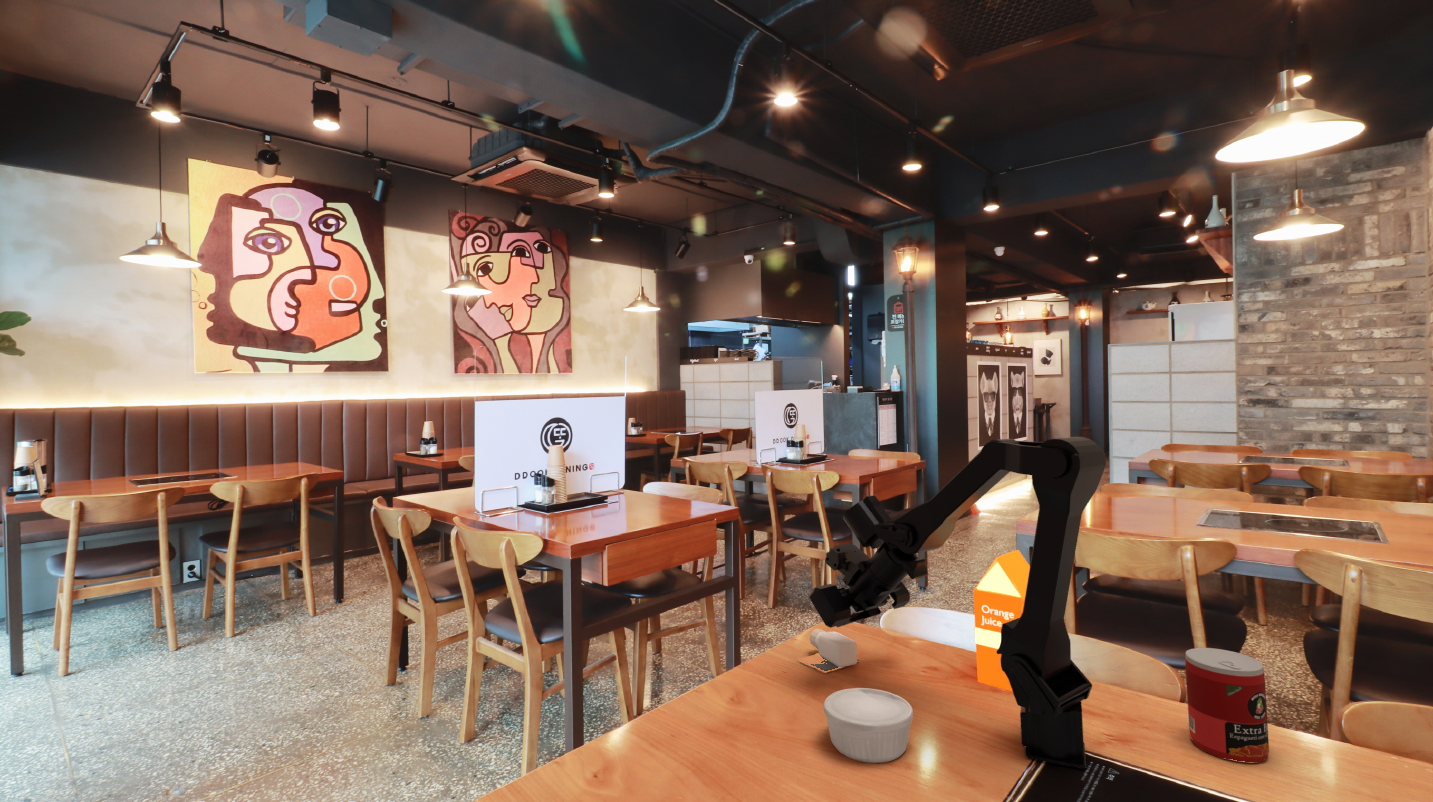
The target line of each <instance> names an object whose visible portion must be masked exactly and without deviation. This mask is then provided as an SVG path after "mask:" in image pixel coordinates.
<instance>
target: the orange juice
mask: <svg viewBox="0 0 1433 802" xmlns="http://www.w3.org/2000/svg"><path fill="white" fill-rule="evenodd" d="M1029 569H1030V564H1029V563H1028V561H1026V558H1025V557H1024V556H1023V554H1022V553H1021V551H1020V550H1019V549H1016V550H1014V551H1011V552H1008V553H1005V554H1002V555H1000V556H997V557H995V560H994V561H993V562H992V563H991V565H990V567H989V568H988V569H987V571H985V573H984V575H983V577H982V578H981V579H980V581H979V582H978V583H977V585H976V587H974V589H973V591H972V592H973V606H974V607H973V608H974V609H973V610H974V625H975V626H974V635H975V636H974V638H975V640H974V641H975V649H976V651H975V653H976V654H975V655H976V670H977V671H976V672H977V674H976V675H977V682H978V683H982V684H984V685H988V686H992V687H995V688H999V689H1001V690H1002V689H1003V690H1005V691H1006V690H1007V691H1009V692H1012V693H1013V691H1012V688H1011V685H1010V682H1009V680H1008V678H1007V676H1006V674H1005V672H1003V671H1002V669H1001V664H1000V658H1001V654H997V653H996V651H997V650H998V649H999V647H1000V643H1001V628H1002V624H1003V623H1006V622H1009V621H1011V620H1014V619H1017V618H1019V617H1020V616H1021V615H1022V612H1023V606H1024V600H1025V594H1026V588H1027V582H1028V575H1029Z"/></svg>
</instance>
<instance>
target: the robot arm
mask: <svg viewBox="0 0 1433 802" xmlns="http://www.w3.org/2000/svg"><path fill="white" fill-rule="evenodd" d="M1106 459H1107V457H1106V454H1105V452H1104V450H1102V448H1101V447H1100V446H1099V445H1098V444H1097V443H1096V442H1095V441H1093V440H1092V439H1090V438H1087V437H1085V436H1070V437H1059V438H1051V439H1048V440H1044V441H1027V440H1026V441H1025V440H1016V439H1013V438H1002V439H1000V438H999V439H994V440H993V439H992V440H989V441H987V442H986V443H985V444H984V445H983V446H982V447H981V450H980V451H979V452H978V453H977V454H976V455H975V456H974V457H973V458H971V460H970V461H969V462H968V463H967V464H966V465H964V467H962V469H961V470H960V471H959V472H958V473H956V474H955V475H954V476H953V477H952V478H951V479H950V480H949V481H948V482H947V483H946V484H944V486H943V487H942V488H941V489H940V490H939V491H938V492H937V493H935V494H934V496H932V498H930V499H928V500H926V501H925V502H923V503H921V504H919V505H917V506H915V507H912V508H911V509H909V510H908V511H906V512H904V513H903V514H901V515H900V516H898V517H896V518H895V519H892V518H891V516H890V515H889V514H888V512H887V511H886V509H885V508H884V507H883V506H882V504H881V502H880V500H879V499H878V498H877V496H876V495H873V494H872V495H865V497H864V498H863V499H861V501H858V502H856V503H855V504H854V505H851V507H850V508H847V509H846V510H845V511H844V513H843V515H842V519H843V521H844V522H845V523H846V525H847V527H848V528H849V529H850V531H851V532H852V533H853V535H854V536H855V538H856V539H857V541H858V542H859V543H860V545H861V546H862V547H863V548H868V547H870V548H871V549H872V550H876V549H877V550H876V551H875V552H874V553H873V554H872V555H871V557H869V555H867V554H866V553H865V552H864V551H862V550H861V549H860V548H859V547H857V546H856V545H855V544H853V543H843V544H838V545H834V546H833V547H830V549H829V550H828V552H826V553H825V559H824V561H825V564H826V565H827V566H828V567H829V568H830V569H832V570H833V571H839V572H840V574H842V575H843V576H844V577H843V578H842V582H843V583H844V585H845V586H846V587H847V586H848V588H845V587H840V588H838V586H837V585H835V584H832V583H828V584H824V585H819V586H815V587H814V588H813V589H812V590H811V592H810V593H809V596H808V598H809V600H810V601H811V603H812V604H813V606H814V608H815V611H816V612H817V614H818V615H819V616H820V619H821V620H822V622H823V623H824V626H826V627H827V628H830V629H831V628H834V627H837V628H840V627H843V626H846V625H849V624H853V623H856V622H859V621H862V620H866V619H869V618H871V617H875V616H879V615H880V614H881V613H882V611H881V609H880V608H881V607H884V606H885V605H887V604H888V602H889V600H890V599H892V600H893V601H894V602H892V604H891V606H892V608H893V610H896V609H899V608H904V607H905V606H906V605H907V604H908V603H909V602H910V601H911V597H910V596H911V592H910V591H909V589H908V588H907V587H906V586H905V584H904V582H903V580H904V579H905V578H906V577H907V576H908V577H909V578H910V579H911V580H916V579H918V578H923V577H926V576H928V568H927V565H926V559H925V558H921V557H919V555H918V554H920V553H925V552H928V551H933V550H938V549H940V548H942V546H943V545H944V544H945V543H946V542H947V540H949V537H951V536H952V534H953V532H954V531H955V527H956V523H957V522H958V521H959V520H960V518H961V516H962V515H963V514H965V513H967V511H968V510H969V509H971V507H972V506H974V504H976V503H977V502H978V501H979V500H980V499H982V498H983V497H984V496H985V495H986V494H987V493H988V492H989V491H990V490H991V489H992V488H994V487H995V486H997V484H998V483H999V482H1000V481H1001V480H1003V478H1005V477H1006V476H1007V475H1008V474H1009V473H1016V474H1018V475H1024V476H1025V475H1026V476H1031V480H1032V481H1031V483H1032V487H1033V491H1034V494H1035V497H1036V499H1037V502H1038V514H1037V520H1036V526H1035V527H1036V528H1035V534H1034V538H1033V546H1032V551H1031V557H1030V564H1029V566H1030V569H1029V575H1028V582H1027V588H1026V594H1025V600H1024V606H1023V612H1022V615H1021V616H1020V617H1019V618H1017V619H1014V620H1011V621H1009V622H1006V623H1003V624H1002V628H1001V643H1000V647H999V649H998V650H997V651H996V653H997V654H1001V658H1000V664H1001V669H1002V671H1003V672H1005V674H1006V676H1007V678H1008V680H1009V682H1010V685H1011V688H1012V691H1013V692H1012V691H1011V692H1012V694H1013V696H1014V699H1015V702H1016V704H1017V706H1019V707H1020V711H1019V718H1020V721H1019V722H1020V739H1021V741H1020V742H1021V745H1022V746H1023V747H1025V753H1024V754H1025V755H1024V756H1025V758H1027V759H1030V760H1035V761H1039V762H1044V761H1045V763H1049V762H1050V763H1051V764H1055V765H1059V766H1060V765H1061V766H1064V765H1065V766H1066V767H1070V766H1075V767H1080V768H1086V769H1087V761H1086V760H1087V759H1086V746H1085V745H1086V744H1085V742H1084V725H1083V724H1084V723H1083V709H1082V701H1085V700H1087V699H1088V698H1089V696H1090V693H1091V690H1092V689H1093V683H1092V682H1091V681H1090V680H1089V679H1088V677H1086V675H1085V674H1084V673H1083V672H1082V671H1081V670H1080V668H1079V667H1078V666H1077V665H1076V664H1075V663H1074V661H1073V660H1072V659H1071V658H1072V655H1071V654H1072V651H1071V647H1072V645H1071V639H1070V635H1069V633H1068V630H1067V627H1066V623H1065V615H1066V611H1067V610H1066V608H1067V602H1068V597H1069V596H1068V595H1069V591H1070V585H1071V581H1072V580H1071V579H1072V575H1073V574H1072V573H1073V568H1074V561H1075V556H1076V549H1077V545H1078V539H1079V533H1080V532H1079V531H1080V527H1081V521H1082V515H1083V512H1084V510H1085V509H1086V507H1087V505H1088V504H1089V502H1090V500H1091V499H1092V498H1093V497H1094V495H1095V493H1096V492H1097V489H1098V487H1099V485H1100V482H1101V479H1102V476H1103V475H1104V474H1103V473H1104V472H1105V469H1106V464H1107V460H1106ZM1075 767H1074V768H1075ZM1080 768H1079V769H1080Z"/></svg>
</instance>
